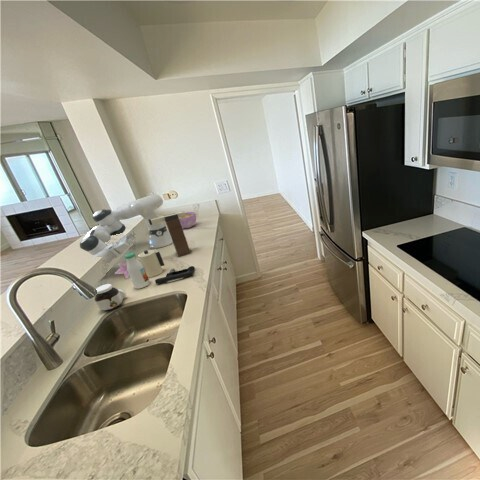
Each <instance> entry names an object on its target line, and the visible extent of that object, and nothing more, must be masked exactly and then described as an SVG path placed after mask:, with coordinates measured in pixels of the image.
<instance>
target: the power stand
mask: <svg viewBox="0 0 480 480" xmlns="http://www.w3.org/2000/svg"><path fill="white" fill-rule="evenodd" d="M175 213H176V212H174V213H169V214H168V215H171V214H175ZM166 215H167V214H164V216H166ZM164 218H165V221H164V223H165V226H166V228H167V231H169V233H170V236H171V239H172V241H173V243H172V244H173V247H174V249H175V252H176V255H177V257H178V258H181V257H183V256H187V255H190V254H191V250H190V247H189V244H188V240H187V238H186V234H185V232H184V228H182V226H181V223H180V220H179V218H178V215H177V214H176V215H171V216H167V217H164Z"/></svg>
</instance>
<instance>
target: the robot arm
mask: <svg viewBox="0 0 480 480" xmlns="http://www.w3.org/2000/svg"><path fill="white" fill-rule="evenodd" d="M163 204H164V200H163V198H162V196H160V195H159V194H149V195H147V196H144V197H141V198H138V199H135V200H132V201H129V202H127V203H124V204H122V205H119V206H117V207H116V208H115V209H113V210H112V209H105V208H104V209H99V210H97V211H95V212H94V213H93V214H92V219H93V221H94V222H96V223H97V224H98V225H96V226H94V227H92V229H90V230H89V231H87V233H86V234H85V235H84V236H83V238H82V239H81V240H80V241H79V248H80V249H82V250H83V251H85V252H87V253H88V254H90V255H92V256H91V258H96V257H105V259H106V262H107V263H109V264H110V263H111V262H112V261H113V260H114V259H117V258H119V257H121V255H122V254H124V252H125V251H126V250H128V249H129V247H130V246H131V243H132V242H133V241H134V240H135V239H136V237H135V236H136V232H134V231H132V232H131V233H129V234H125V235H123V236H121V237H120V238H119V239H118V240H117V241H115V242H113V241H112V242H110V241H111V237H112V235H113V236H114V235H116V234H120V233H122V234H123V233H124V232H125V231H126V226H125V224H124V223H122V221H124V220H129V219H132V218H135V217H138V216H140V217H142V219H143V220H144V221H145V224H146V226H147V228H148V234H149V235H150V236H149V237H148V238H149V239H148V240H149V244H150V245H149V249H153V248H154V249H159V248H163V247H168V246H169V245H172V244H173V241H172V239H171V236H170V233H169V230H168V227H167V225H166V224H165V221H163V222H159V223H155V224H152V225H150V223H149V220H148V219H154V218H158V217H162V215H160V214H158V213H156V210H157V209H159V208H160V207H162V205H163ZM120 235H121V234H120ZM116 236H117V235H116ZM109 240H110V241H109ZM108 241H109V242H108ZM105 242H108V243H107V244H105ZM93 255H94V256H93Z"/></svg>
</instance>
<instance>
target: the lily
mask: <svg viewBox="0 0 480 480" xmlns="http://www.w3.org/2000/svg"><path fill="white" fill-rule="evenodd" d="M117 266H118V267H119V269H116V271H115V272H114V275H123V274H124V277H125V279H128V278H130V276H129V273H128V271H127V260H126V259H125V262H124V263H121V262H117Z"/></svg>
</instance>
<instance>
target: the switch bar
mask: <svg viewBox="0 0 480 480" xmlns="http://www.w3.org/2000/svg"><path fill="white" fill-rule="evenodd" d="M174 213H175V214H173V213H170V214H171V215H176V214H177V215H178V218H179V217H183V216H186V214H185V213H186V212H185V211H184V210H183V211H179V212H174ZM165 215H166V216H165ZM165 215H163V216H162V215H161V217H158V218H154V219H148V220H149V223H150V225H152V224H155V223H159V222H165V218H164V217H167V216H171V215H169V214H165Z"/></svg>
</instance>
